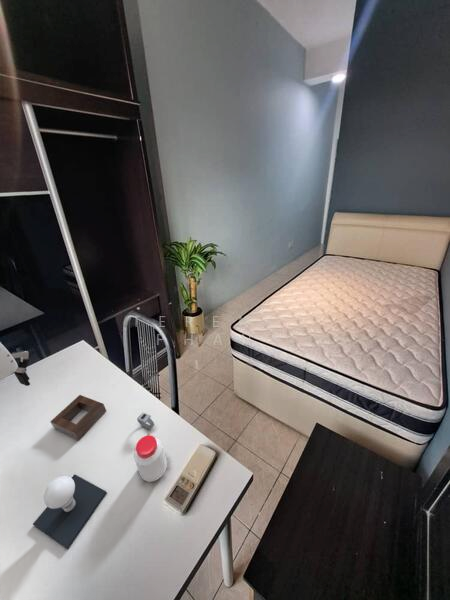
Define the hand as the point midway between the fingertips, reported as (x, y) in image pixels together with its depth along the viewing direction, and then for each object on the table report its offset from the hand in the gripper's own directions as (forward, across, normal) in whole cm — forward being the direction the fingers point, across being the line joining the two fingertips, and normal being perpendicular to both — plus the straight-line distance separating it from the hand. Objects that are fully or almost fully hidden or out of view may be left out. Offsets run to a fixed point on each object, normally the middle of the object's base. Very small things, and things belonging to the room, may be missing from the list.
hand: (5, 398), depth 61 cm
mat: (+28, +6, +17) cm, 34 cm away
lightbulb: (+28, +6, +17) cm, 33 cm away
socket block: (+28, -14, -3) cm, 32 cm away
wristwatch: (+28, -20, +21) cm, 41 cm away
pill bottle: (+28, -10, +31) cm, 43 cm away
